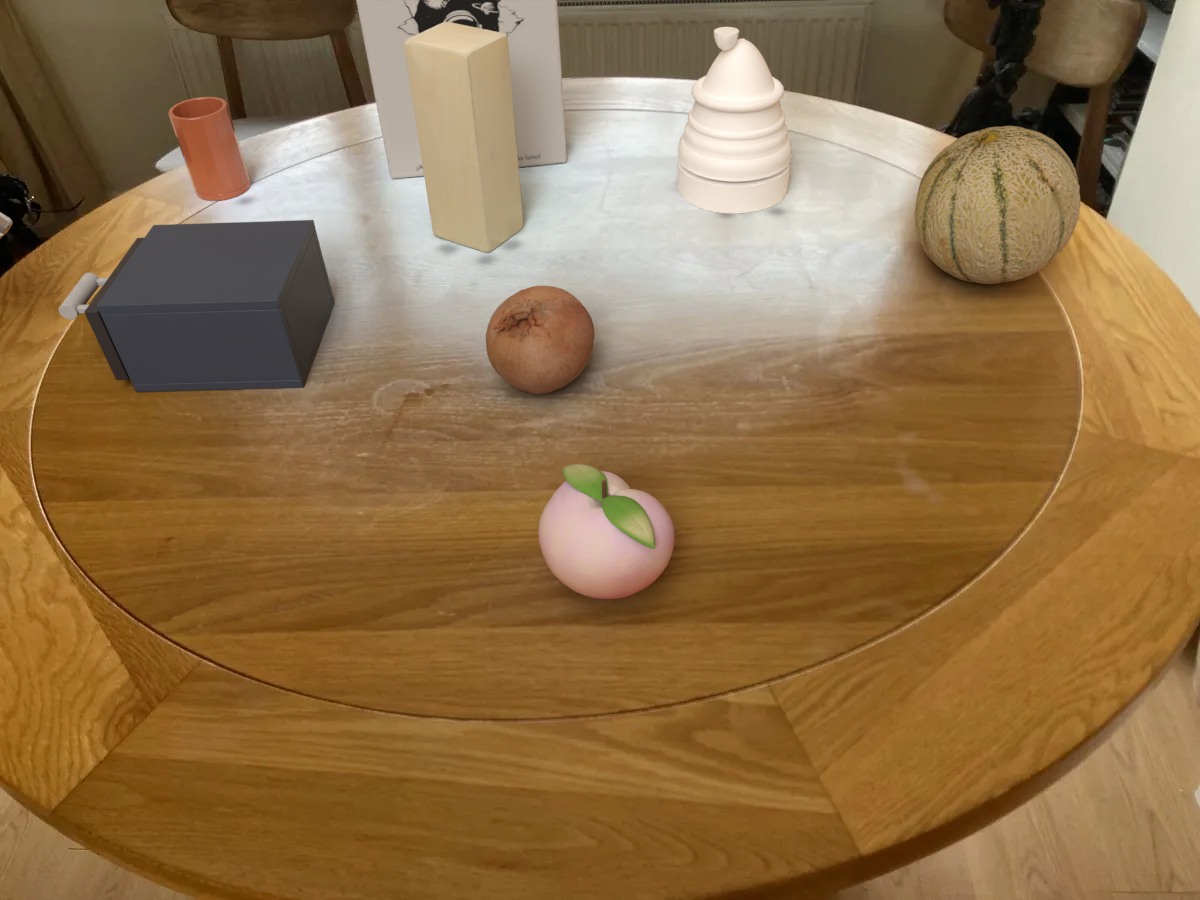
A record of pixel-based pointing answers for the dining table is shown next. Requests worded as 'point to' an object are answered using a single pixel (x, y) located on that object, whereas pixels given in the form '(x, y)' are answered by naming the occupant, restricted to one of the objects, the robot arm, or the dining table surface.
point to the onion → (540, 339)
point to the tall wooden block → (466, 133)
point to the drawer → (78, 302)
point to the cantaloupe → (997, 205)
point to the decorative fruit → (604, 534)
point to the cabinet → (220, 306)
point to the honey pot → (735, 134)
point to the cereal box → (530, 20)
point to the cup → (210, 148)
